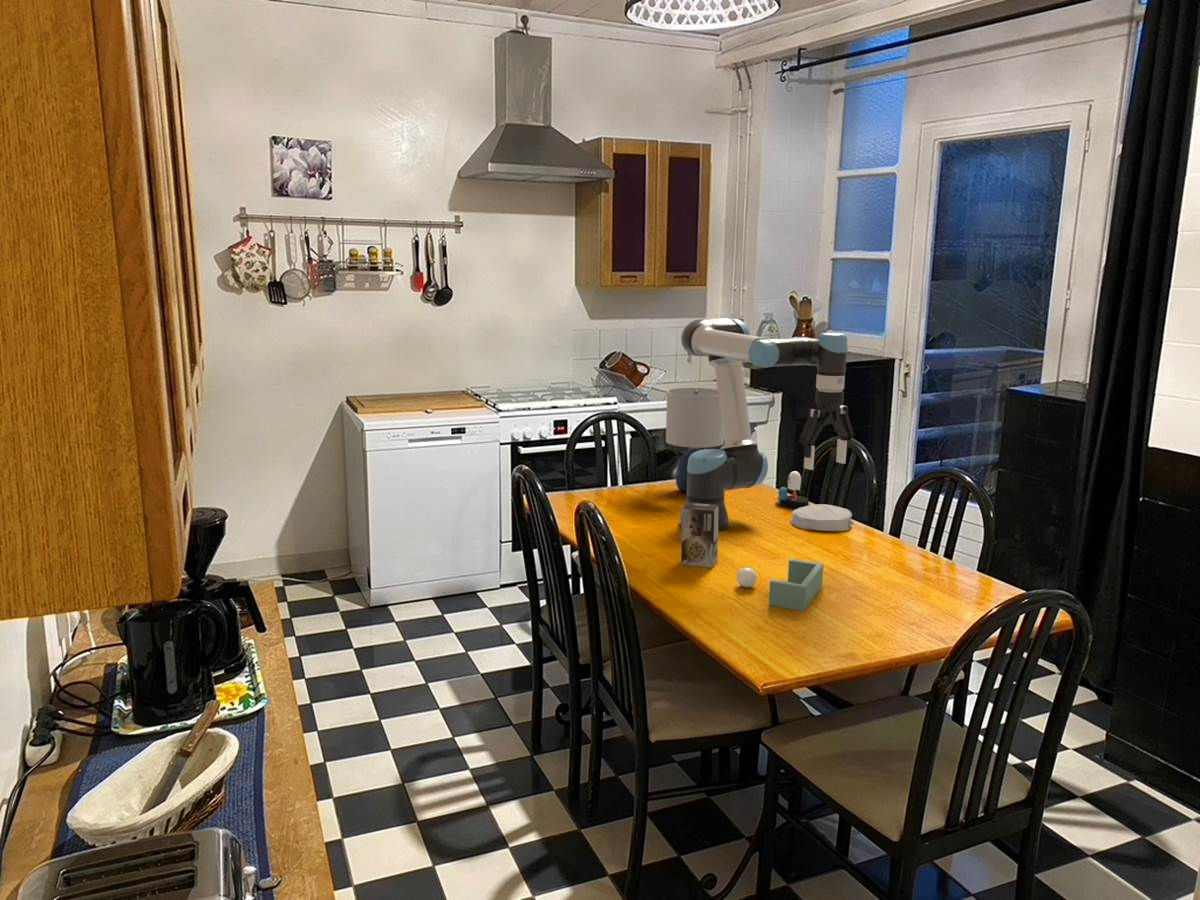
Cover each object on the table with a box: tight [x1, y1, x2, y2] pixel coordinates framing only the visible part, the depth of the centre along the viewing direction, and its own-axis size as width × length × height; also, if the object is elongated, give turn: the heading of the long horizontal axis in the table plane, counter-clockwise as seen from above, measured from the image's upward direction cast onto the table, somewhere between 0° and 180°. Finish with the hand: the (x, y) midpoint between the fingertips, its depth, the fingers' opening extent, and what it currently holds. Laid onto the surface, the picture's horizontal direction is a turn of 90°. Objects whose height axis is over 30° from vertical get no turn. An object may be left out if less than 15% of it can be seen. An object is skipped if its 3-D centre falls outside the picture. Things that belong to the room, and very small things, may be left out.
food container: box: [789, 503, 855, 532], centre depth 284 cm, size 20×20×7 cm
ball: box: [736, 567, 758, 588], centre depth 227 cm, size 5×5×5 cm
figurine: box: [774, 470, 810, 510], centre depth 305 cm, size 10×11×12 cm
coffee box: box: [680, 502, 719, 569], centre depth 244 cm, size 9×6×16 cm
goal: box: [768, 558, 824, 612], centre depth 222 cm, size 8×19×6 cm, turn 154°
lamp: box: [665, 387, 724, 494], centre depth 319 cm, size 20×20×37 cm
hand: (824, 465), depth 251 cm, fingers open, 13 cm apart
